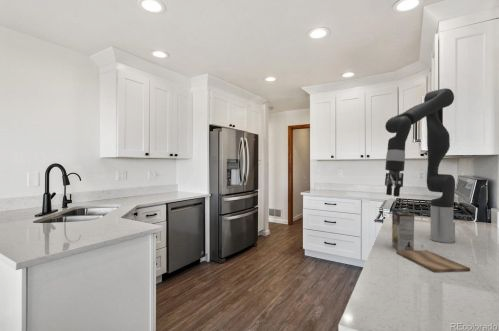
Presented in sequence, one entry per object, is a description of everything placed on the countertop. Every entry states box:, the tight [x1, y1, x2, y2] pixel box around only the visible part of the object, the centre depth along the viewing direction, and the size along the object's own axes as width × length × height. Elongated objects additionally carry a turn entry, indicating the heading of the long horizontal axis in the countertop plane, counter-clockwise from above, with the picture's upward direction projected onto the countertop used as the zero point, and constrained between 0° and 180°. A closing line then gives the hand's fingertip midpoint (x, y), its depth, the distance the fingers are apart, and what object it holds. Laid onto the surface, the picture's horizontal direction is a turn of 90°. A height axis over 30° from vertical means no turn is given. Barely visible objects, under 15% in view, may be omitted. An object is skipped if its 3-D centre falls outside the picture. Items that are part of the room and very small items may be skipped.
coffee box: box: [391, 211, 415, 251], centre depth 118 cm, size 9×6×16 cm
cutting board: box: [395, 249, 471, 273], centre depth 102 cm, size 14×20×1 cm
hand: (392, 195), depth 120 cm, fingers open, 8 cm apart
